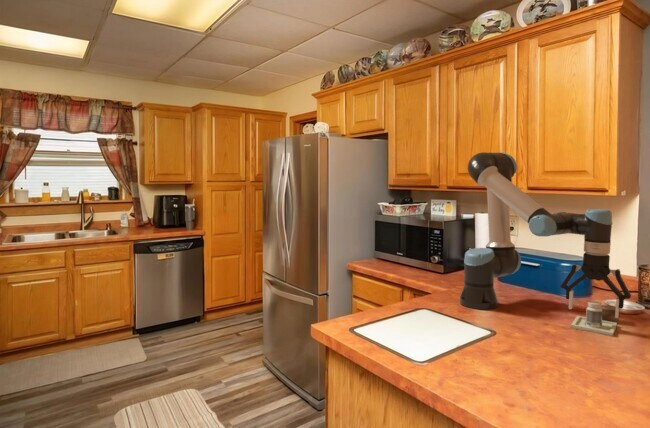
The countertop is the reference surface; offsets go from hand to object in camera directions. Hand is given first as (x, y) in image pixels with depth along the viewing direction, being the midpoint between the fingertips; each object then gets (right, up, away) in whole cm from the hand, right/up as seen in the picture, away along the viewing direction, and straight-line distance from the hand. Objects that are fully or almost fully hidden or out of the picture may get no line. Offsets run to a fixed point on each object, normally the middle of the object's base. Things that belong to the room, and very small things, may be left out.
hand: (592, 312), depth 137 cm
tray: (0, -5, 0) cm, 5 cm away
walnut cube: (+10, -5, +6) cm, 13 cm away
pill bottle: (0, -5, 0) cm, 5 cm away
